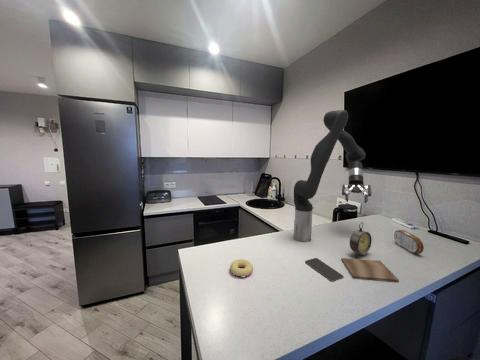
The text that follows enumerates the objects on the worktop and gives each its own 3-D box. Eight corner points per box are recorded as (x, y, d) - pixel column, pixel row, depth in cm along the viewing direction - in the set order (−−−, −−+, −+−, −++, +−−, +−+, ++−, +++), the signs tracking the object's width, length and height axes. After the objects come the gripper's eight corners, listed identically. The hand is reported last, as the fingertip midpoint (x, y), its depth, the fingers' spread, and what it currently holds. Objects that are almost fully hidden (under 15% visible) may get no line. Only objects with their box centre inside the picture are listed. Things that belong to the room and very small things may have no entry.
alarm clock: (357, 260, 89) (360, 226, 86) (346, 254, 93) (348, 222, 91) (371, 254, 94) (374, 221, 91) (359, 249, 98) (362, 218, 96)
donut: (245, 267, 87) (226, 270, 84) (246, 257, 88) (227, 259, 84) (256, 277, 78) (235, 280, 75) (257, 265, 79) (236, 268, 75)
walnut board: (353, 278, 76) (353, 275, 76) (341, 260, 89) (341, 257, 88) (398, 282, 73) (398, 279, 73) (379, 262, 86) (380, 260, 86)
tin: (423, 256, 91) (425, 240, 89) (416, 256, 91) (418, 240, 90) (397, 242, 106) (399, 227, 104) (392, 242, 106) (393, 227, 104)
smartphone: (331, 281, 74) (303, 261, 87) (331, 283, 74) (303, 262, 87) (345, 276, 77) (316, 257, 90) (345, 278, 77) (316, 259, 90)
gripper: (342, 173, 115) (341, 197, 107) (371, 173, 108) (372, 199, 101) (342, 180, 121) (341, 203, 113) (369, 181, 114) (371, 205, 106)
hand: (356, 201), depth 107 cm, fingers open, 8 cm apart
